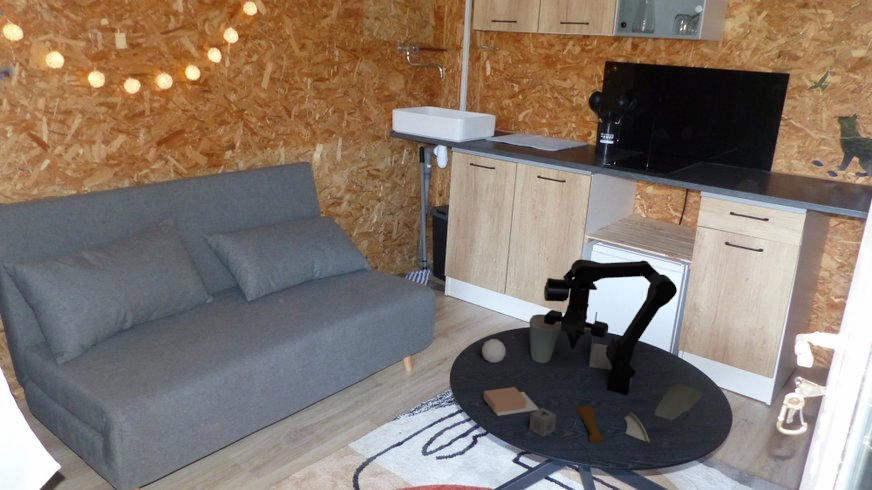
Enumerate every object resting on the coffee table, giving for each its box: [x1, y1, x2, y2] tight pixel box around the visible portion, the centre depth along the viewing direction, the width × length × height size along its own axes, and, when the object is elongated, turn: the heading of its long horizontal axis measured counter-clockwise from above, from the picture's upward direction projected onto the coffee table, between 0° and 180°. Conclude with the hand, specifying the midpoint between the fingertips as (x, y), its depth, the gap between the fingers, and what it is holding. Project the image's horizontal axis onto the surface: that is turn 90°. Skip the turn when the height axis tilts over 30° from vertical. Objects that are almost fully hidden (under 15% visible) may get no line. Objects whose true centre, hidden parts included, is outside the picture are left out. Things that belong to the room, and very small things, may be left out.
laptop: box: [588, 311, 612, 371], centre depth 237 cm, size 18×12×13 cm
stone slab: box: [653, 383, 703, 421], centre depth 211 cm, size 22×3×10 cm
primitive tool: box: [574, 405, 604, 445], centre depth 198 cm, size 19×6×4 cm, turn 1°
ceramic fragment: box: [623, 412, 652, 446], centre depth 196 cm, size 14×5×4 cm, turn 9°
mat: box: [494, 391, 539, 417], centre depth 207 cm, size 13×10×1 cm
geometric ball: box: [481, 338, 506, 364], centre depth 232 cm, size 8×8×8 cm
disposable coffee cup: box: [528, 313, 561, 364], centre depth 234 cm, size 11×11×15 cm
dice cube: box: [528, 407, 557, 438], centre depth 194 cm, size 5×5×5 cm
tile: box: [483, 386, 527, 413], centre depth 206 cm, size 3×8×10 cm
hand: (572, 348), depth 215 cm, fingers closed
